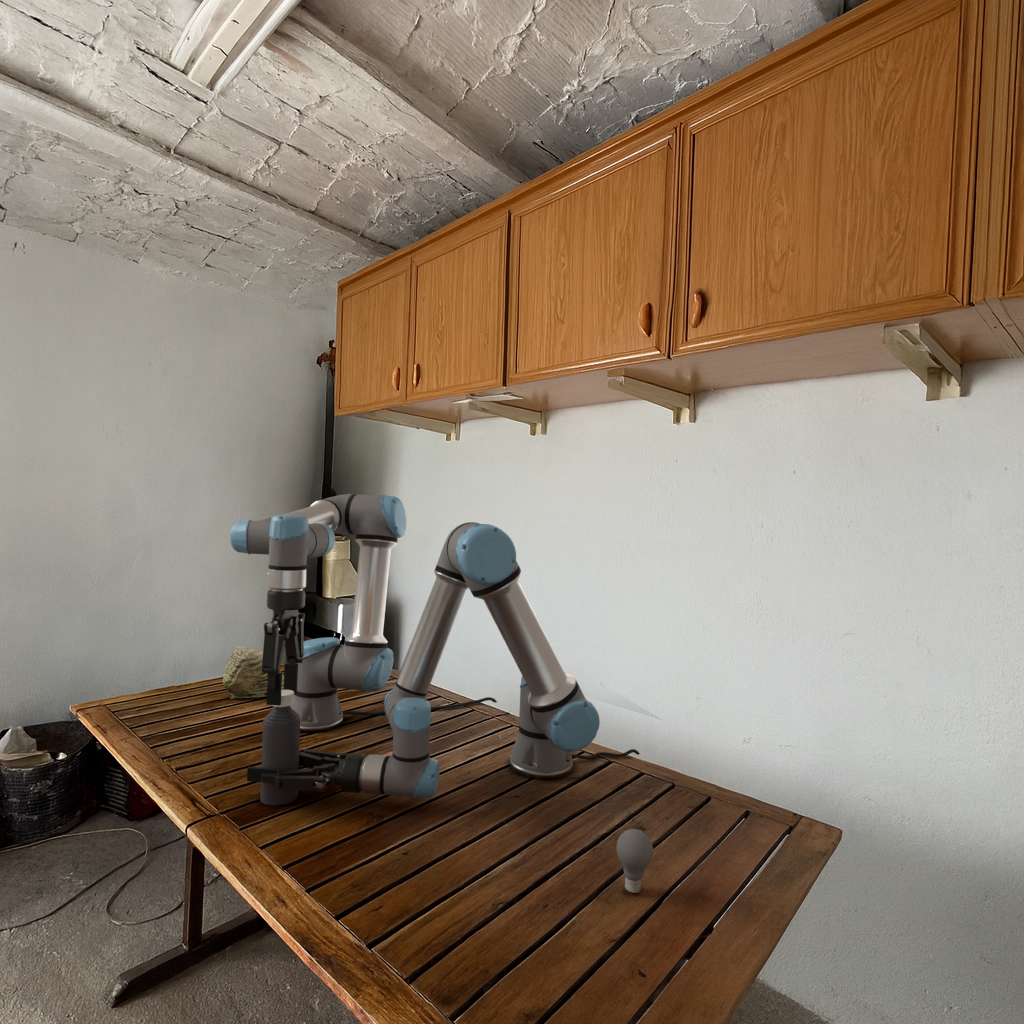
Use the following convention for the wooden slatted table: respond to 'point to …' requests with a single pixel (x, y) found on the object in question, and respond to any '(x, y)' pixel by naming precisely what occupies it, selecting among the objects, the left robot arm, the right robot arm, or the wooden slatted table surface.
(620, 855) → the light bulb
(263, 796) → the bottle
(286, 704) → the cap
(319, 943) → the wooden slatted table surface
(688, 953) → the wooden slatted table surface
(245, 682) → the fossil
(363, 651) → the left robot arm
